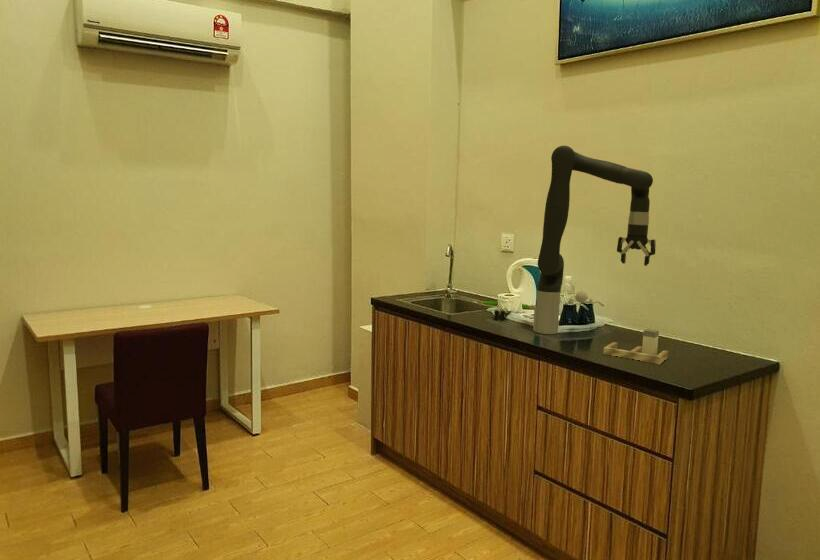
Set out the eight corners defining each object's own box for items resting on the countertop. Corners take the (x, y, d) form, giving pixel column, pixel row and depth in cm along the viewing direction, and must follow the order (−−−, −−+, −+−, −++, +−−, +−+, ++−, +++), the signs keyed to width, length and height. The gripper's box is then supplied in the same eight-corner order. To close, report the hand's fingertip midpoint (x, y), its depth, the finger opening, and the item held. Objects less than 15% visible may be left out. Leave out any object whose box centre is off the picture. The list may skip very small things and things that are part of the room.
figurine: (531, 324, 281) (537, 312, 309) (532, 311, 280) (537, 299, 309) (467, 319, 288) (478, 307, 317) (468, 305, 287) (479, 294, 316)
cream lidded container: (641, 357, 228) (643, 330, 227) (645, 355, 231) (647, 328, 230) (652, 360, 225) (655, 332, 224) (656, 357, 229) (659, 330, 227)
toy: (590, 323, 285) (593, 290, 283) (593, 327, 278) (596, 292, 276) (564, 322, 286) (567, 289, 284) (566, 325, 279) (569, 291, 277)
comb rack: (603, 354, 231) (603, 347, 230) (612, 348, 240) (613, 342, 240) (659, 364, 220) (660, 357, 219) (667, 357, 229) (668, 351, 229)
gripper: (617, 222, 252) (613, 263, 254) (654, 224, 244) (650, 267, 246) (622, 222, 258) (619, 262, 260) (659, 224, 250) (655, 265, 252)
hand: (634, 264), depth 253 cm, fingers open, 8 cm apart
